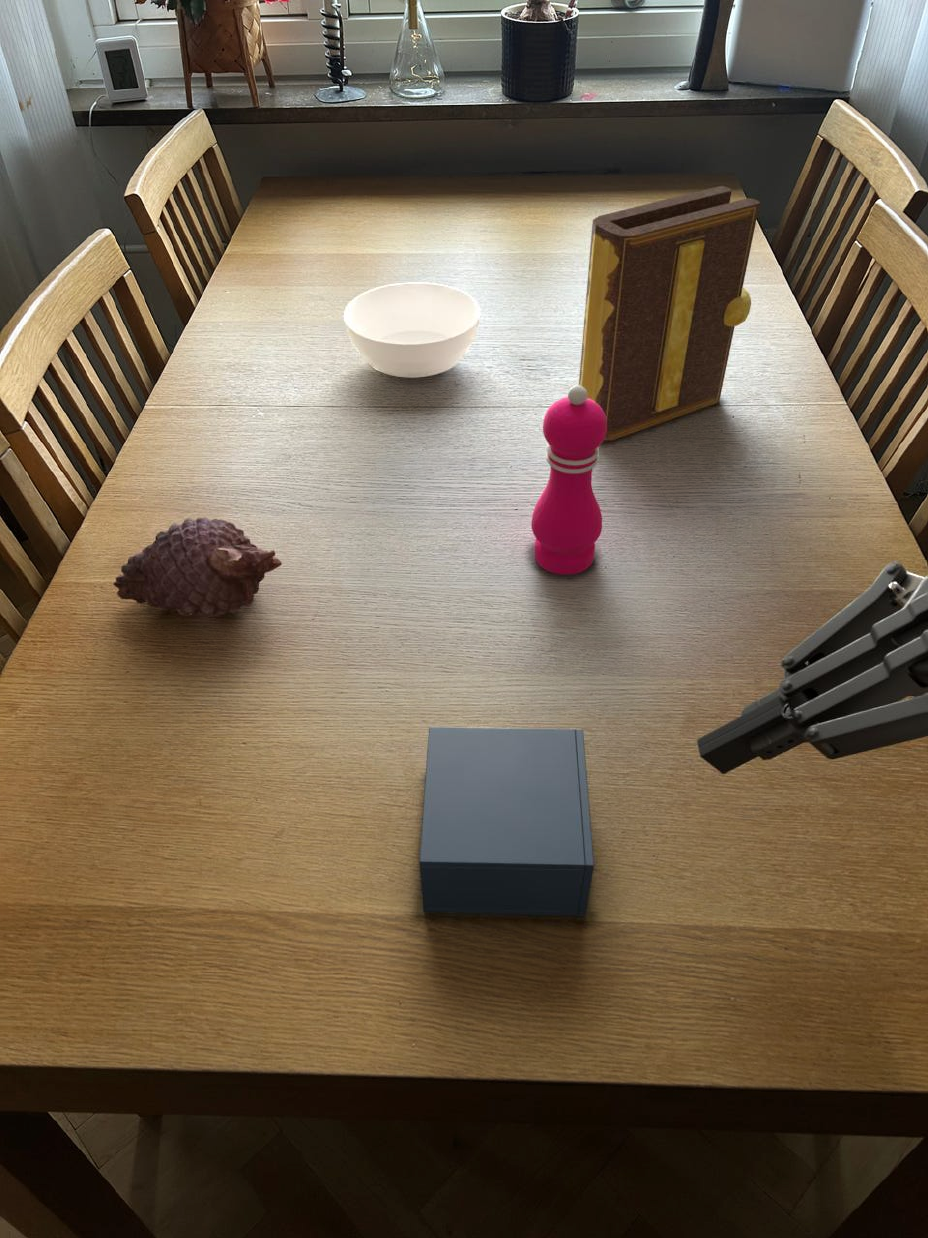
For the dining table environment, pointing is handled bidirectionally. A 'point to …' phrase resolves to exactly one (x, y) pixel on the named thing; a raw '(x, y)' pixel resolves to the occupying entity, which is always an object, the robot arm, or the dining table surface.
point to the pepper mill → (570, 485)
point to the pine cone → (197, 569)
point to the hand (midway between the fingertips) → (710, 756)
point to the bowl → (412, 327)
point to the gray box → (506, 822)
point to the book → (664, 306)
